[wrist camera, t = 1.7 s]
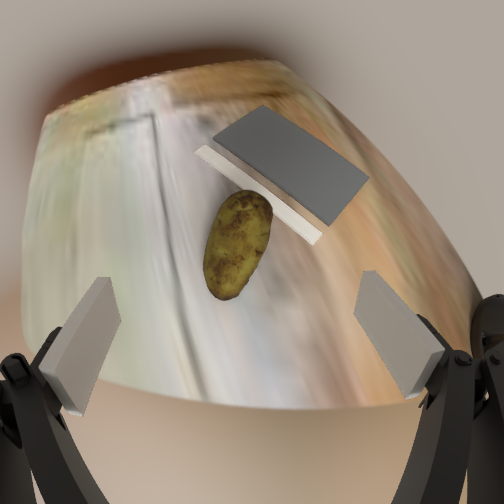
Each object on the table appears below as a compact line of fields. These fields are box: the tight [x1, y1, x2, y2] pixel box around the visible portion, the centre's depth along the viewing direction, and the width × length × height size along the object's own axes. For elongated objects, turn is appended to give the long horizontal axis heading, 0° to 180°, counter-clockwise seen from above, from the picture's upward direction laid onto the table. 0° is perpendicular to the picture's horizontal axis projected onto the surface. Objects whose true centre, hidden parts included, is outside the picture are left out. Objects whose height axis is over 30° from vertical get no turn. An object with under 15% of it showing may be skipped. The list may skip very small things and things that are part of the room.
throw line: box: [194, 144, 322, 246], centre depth 41 cm, size 24×2×1 cm, turn 48°
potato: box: [203, 190, 273, 301], centre depth 34 cm, size 8×13×8 cm, turn 143°
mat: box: [213, 105, 369, 226], centre depth 44 cm, size 24×13×1 cm, turn 48°
